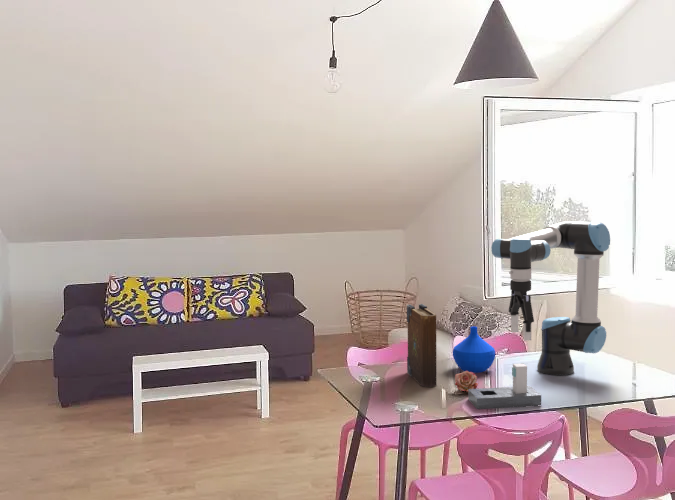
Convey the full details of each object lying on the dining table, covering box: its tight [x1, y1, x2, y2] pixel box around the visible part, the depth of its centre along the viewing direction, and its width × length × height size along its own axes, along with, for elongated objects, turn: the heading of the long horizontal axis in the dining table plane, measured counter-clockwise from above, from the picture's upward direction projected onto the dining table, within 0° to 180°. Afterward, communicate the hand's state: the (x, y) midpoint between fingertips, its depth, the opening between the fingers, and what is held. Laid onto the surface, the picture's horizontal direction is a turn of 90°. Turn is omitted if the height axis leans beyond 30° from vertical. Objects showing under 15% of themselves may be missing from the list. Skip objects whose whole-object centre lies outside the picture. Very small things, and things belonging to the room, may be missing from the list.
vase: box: [452, 325, 496, 374], centre depth 325 cm, size 18×18×19 cm
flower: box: [454, 371, 479, 393], centre depth 293 cm, size 10×9×8 cm
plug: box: [511, 363, 528, 394], centre depth 278 cm, size 5×4×14 cm
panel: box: [467, 385, 542, 410], centre depth 278 cm, size 24×12×4 cm, turn 95°
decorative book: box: [406, 303, 437, 388], centre depth 311 cm, size 23×7×30 cm, turn 10°
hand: (520, 336), depth 278 cm, fingers open, 13 cm apart
